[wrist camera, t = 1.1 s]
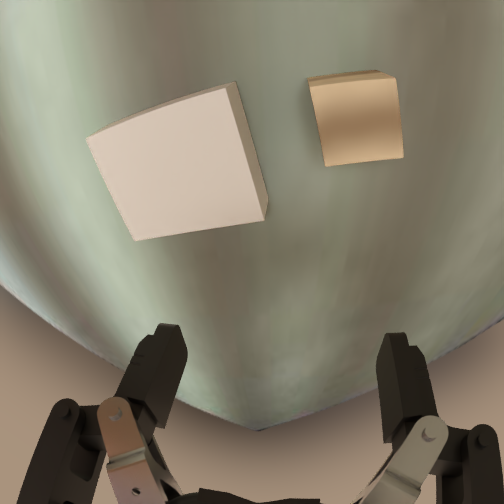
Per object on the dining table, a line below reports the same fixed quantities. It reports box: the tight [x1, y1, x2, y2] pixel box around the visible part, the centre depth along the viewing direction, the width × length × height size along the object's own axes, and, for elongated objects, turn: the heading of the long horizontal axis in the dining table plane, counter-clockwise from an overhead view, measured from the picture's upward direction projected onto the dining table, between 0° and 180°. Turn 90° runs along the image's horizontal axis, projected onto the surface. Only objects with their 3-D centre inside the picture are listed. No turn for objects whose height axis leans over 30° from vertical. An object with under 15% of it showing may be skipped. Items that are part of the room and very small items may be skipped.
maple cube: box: [307, 70, 404, 167], centre depth 21 cm, size 6×6×6 cm
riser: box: [86, 81, 268, 241], centre depth 28 cm, size 12×14×4 cm
